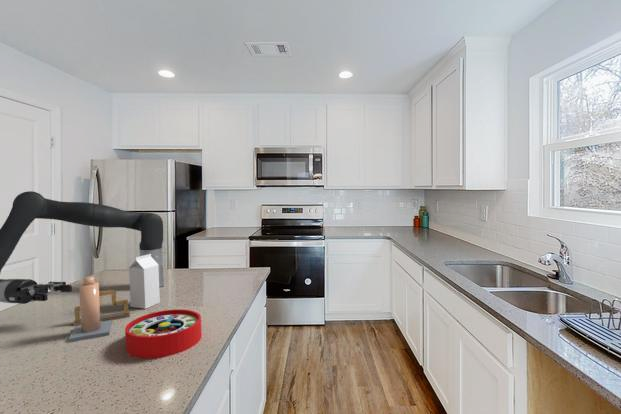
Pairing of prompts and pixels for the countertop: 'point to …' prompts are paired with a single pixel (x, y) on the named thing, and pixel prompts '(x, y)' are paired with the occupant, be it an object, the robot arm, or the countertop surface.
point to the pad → (80, 335)
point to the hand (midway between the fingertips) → (59, 292)
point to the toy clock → (163, 333)
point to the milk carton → (144, 282)
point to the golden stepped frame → (110, 316)
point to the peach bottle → (89, 305)
